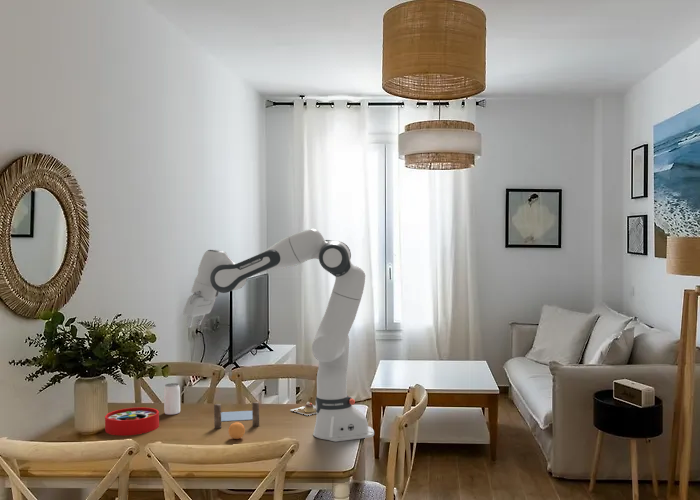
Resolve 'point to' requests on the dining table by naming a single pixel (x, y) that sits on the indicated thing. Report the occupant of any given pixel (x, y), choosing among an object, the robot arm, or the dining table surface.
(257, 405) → the right post
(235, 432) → the ball
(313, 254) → the robot arm
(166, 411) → the can
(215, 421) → the left post
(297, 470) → the dining table surface
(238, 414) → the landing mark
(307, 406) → the dessert
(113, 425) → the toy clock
